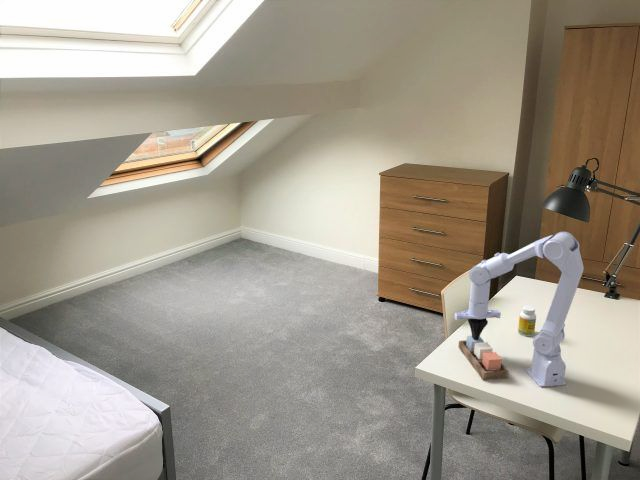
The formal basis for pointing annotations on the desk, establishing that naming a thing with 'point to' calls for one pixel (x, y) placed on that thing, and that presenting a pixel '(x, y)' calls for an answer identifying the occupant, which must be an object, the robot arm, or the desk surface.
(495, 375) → the frame
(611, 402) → the desk surface
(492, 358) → the key terracotta
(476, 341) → the key blue
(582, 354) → the desk surface
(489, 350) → the key white
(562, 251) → the robot arm
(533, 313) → the supplement bottle
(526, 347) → the desk surface
